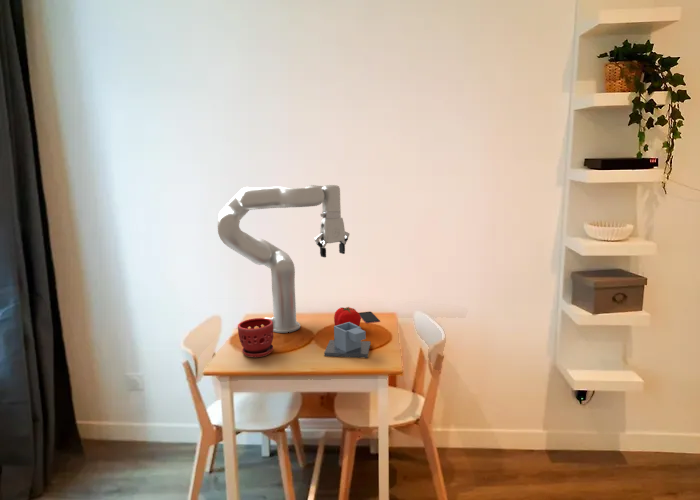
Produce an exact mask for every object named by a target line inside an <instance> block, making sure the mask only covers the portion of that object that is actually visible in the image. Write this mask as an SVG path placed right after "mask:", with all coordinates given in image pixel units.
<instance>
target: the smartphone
mask: <svg viewBox="0 0 700 500" xmlns="http://www.w3.org/2000/svg"><path fill="white" fill-rule="evenodd" d="M358 313H359V314H360V317H361V320H362V321H363V322H364V323H365V324H375V323H380V322H381V319H379V318H378V317H377V316H376V315H375V313H373V312H372V311H363V312H358Z"/></svg>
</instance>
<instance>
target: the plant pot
mask: <svg viewBox="0 0 700 500" xmlns="http://www.w3.org/2000/svg"><path fill="white" fill-rule="evenodd" d="M266 318H267V317H257V318H249V319H245V320H243V321H241V322H239V323H238V324H237V332H238V338H239V342H240V344H241V346H242V351H241V352H242V354H243V356H247V357H248V358H249V357H250V358H261V357H265V356H268V355H269V354H271V353H272V352H273V350H274V345H273V344H272V343H273V340H274V331H273V329H274V328H273V321H272V320H270V319H266ZM262 325H263V326H262ZM255 327H257V328H255Z"/></svg>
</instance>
